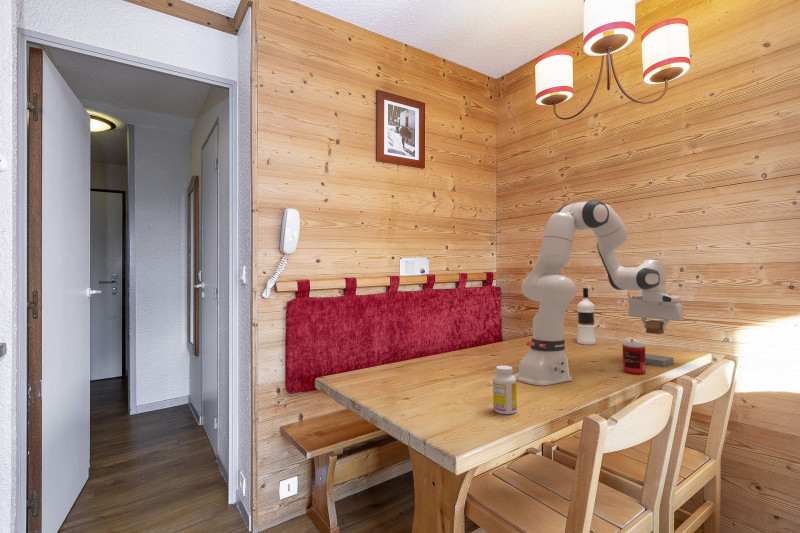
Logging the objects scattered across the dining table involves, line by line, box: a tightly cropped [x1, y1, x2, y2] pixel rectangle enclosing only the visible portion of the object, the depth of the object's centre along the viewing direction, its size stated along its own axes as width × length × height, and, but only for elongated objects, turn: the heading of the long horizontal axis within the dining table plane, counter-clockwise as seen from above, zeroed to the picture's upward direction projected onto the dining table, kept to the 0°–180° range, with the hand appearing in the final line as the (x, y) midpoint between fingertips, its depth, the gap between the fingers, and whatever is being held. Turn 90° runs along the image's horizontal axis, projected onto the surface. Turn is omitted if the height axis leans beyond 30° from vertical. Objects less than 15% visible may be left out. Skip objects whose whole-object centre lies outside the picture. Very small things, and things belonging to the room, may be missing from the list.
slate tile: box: [645, 353, 674, 368], centre depth 170 cm, size 10×10×2 cm
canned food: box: [622, 342, 646, 376], centre depth 156 cm, size 8×8×11 cm
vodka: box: [576, 287, 597, 346], centre depth 214 cm, size 9×9×30 cm
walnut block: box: [645, 319, 665, 335], centre depth 170 cm, size 5×5×5 cm
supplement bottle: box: [492, 365, 518, 415], centre depth 117 cm, size 7×7×13 cm
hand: (654, 329), depth 170 cm, fingers closed on walnut block, 5 cm apart
